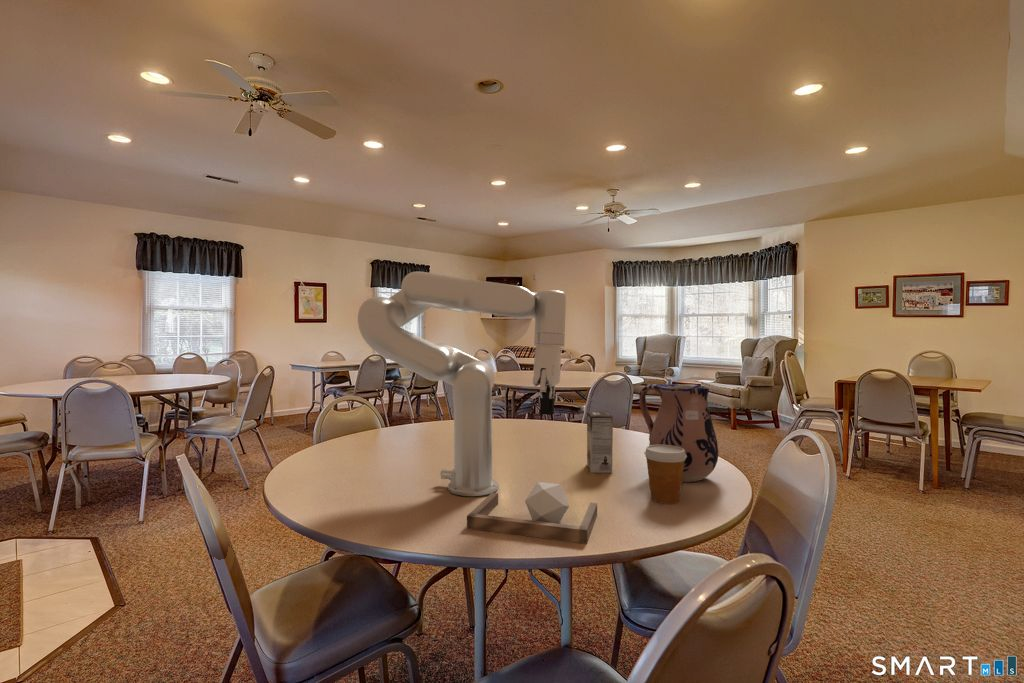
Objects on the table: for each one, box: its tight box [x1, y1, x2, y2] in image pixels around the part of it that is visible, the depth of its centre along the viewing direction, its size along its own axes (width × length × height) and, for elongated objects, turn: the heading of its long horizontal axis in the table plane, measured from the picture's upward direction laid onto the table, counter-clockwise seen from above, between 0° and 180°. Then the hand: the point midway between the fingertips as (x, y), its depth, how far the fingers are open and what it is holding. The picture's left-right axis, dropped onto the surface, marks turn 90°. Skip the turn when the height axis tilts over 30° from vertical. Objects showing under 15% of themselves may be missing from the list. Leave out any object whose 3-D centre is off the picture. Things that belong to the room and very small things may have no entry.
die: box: [524, 481, 570, 524], centre depth 100 cm, size 8×9×10 cm
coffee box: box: [586, 410, 614, 474], centre depth 140 cm, size 9×6×16 cm
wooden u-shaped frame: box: [466, 492, 598, 545], centre depth 101 cm, size 24×15×2 cm, turn 73°
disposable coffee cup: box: [644, 445, 687, 505], centre depth 114 cm, size 10×10×12 cm
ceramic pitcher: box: [638, 383, 719, 483], centre depth 132 cm, size 18×21×25 cm
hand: (546, 413), depth 121 cm, fingers closed
